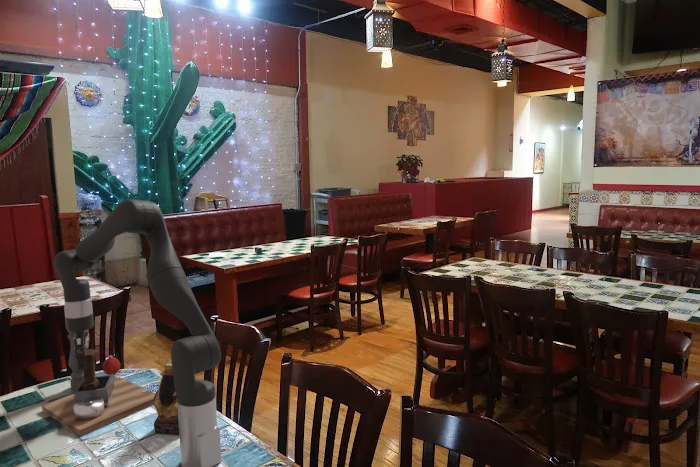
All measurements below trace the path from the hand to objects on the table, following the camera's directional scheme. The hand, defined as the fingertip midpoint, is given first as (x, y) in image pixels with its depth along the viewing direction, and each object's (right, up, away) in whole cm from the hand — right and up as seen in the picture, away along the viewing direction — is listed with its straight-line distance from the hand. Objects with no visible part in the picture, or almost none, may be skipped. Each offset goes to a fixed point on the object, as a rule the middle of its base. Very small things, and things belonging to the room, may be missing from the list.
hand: (83, 363), depth 151 cm
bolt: (+1, -11, +2) cm, 12 cm away
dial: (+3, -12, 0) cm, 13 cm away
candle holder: (-10, -13, +16) cm, 23 cm away
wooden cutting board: (+4, -14, +3) cm, 15 cm away
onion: (-3, -12, +25) cm, 28 cm away
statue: (+33, -16, -11) cm, 38 cm away
